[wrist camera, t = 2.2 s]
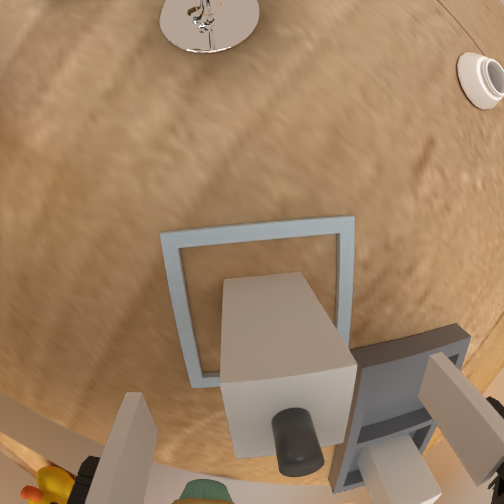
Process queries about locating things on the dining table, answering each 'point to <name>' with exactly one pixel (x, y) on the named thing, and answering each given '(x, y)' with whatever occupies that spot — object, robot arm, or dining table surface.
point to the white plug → (397, 473)
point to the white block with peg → (283, 372)
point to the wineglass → (208, 23)
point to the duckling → (49, 487)
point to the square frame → (253, 232)
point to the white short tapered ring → (481, 79)
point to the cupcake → (204, 493)
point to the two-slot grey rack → (391, 397)
